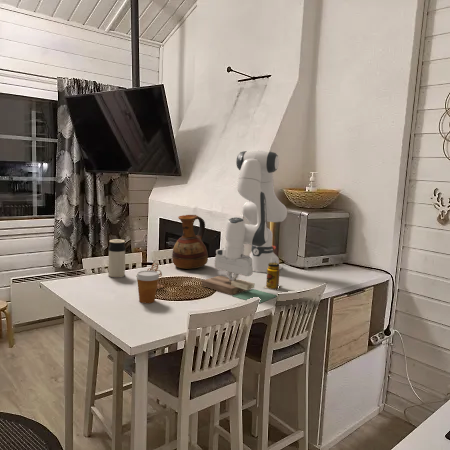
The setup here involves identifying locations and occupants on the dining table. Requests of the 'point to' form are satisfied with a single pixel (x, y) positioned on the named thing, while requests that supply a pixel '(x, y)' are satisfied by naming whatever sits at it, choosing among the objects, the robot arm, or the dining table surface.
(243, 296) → the mat
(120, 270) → the travel mug
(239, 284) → the tile
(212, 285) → the board
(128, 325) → the dining table surface
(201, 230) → the ceramic pitcher
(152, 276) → the disposable coffee cup
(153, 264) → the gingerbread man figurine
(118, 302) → the dining table surface
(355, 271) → the dining table surface
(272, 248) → the robot arm
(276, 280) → the condiment
